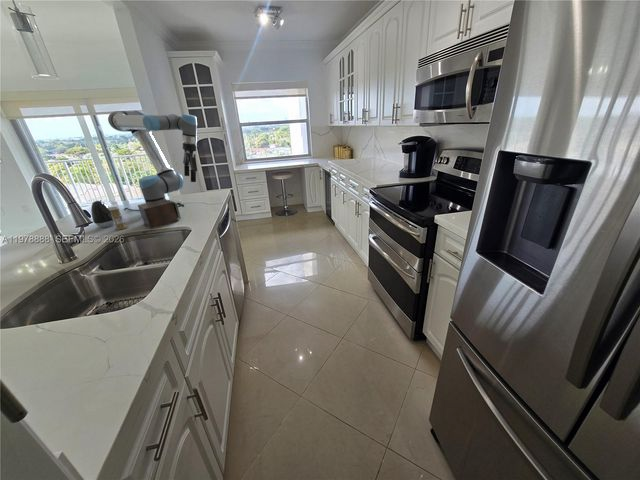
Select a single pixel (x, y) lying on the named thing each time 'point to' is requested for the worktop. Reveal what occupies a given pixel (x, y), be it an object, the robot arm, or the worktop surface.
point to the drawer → (177, 208)
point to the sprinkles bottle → (117, 217)
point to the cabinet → (158, 213)
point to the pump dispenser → (101, 214)
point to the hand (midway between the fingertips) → (190, 178)
